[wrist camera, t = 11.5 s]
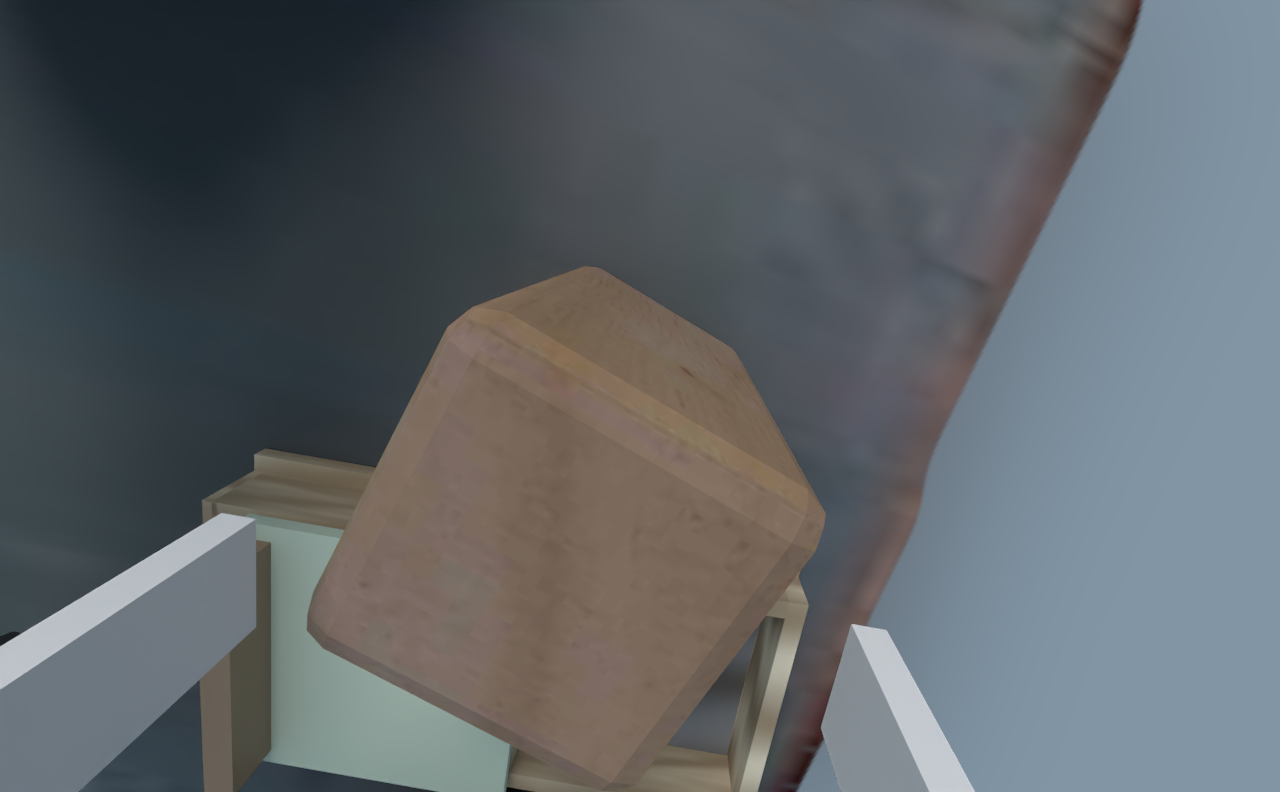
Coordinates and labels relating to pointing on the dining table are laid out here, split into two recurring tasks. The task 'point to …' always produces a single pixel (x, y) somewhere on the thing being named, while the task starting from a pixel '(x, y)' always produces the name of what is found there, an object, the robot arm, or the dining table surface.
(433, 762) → the lid
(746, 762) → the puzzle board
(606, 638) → the wooden block
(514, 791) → the beer stein
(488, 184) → the dining table surface
